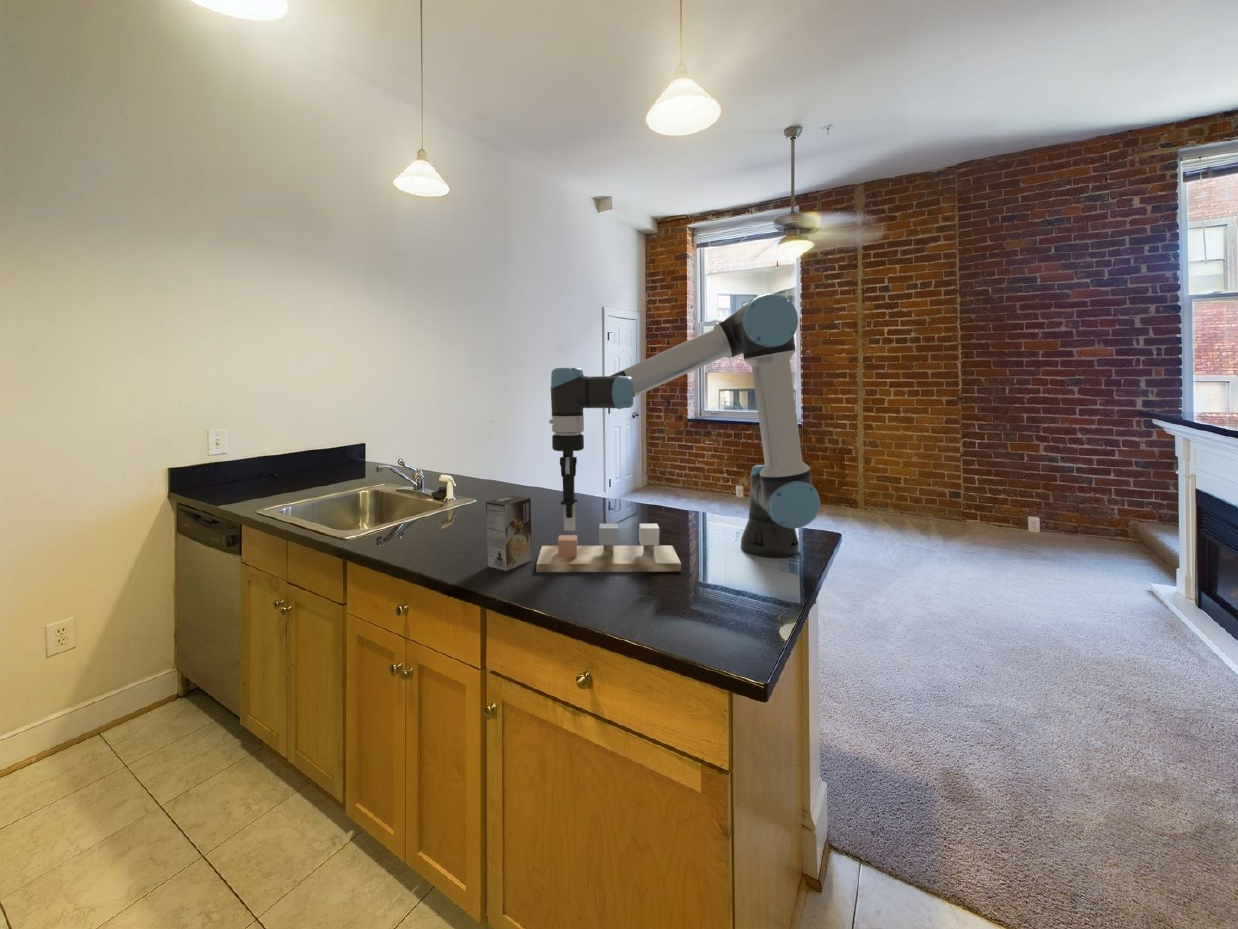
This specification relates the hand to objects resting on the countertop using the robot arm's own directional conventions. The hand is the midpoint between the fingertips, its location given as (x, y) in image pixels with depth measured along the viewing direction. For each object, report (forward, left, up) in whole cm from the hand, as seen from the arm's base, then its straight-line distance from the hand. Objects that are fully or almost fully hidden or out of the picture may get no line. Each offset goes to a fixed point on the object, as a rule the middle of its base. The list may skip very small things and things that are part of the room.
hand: (569, 529), depth 131 cm
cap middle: (-10, 0, -3) cm, 10 cm away
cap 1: (0, 0, -6) cm, 6 cm away
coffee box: (+15, +1, -9) cm, 17 cm away
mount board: (-9, 0, -8) cm, 13 cm away
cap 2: (-20, 0, -3) cm, 20 cm away
